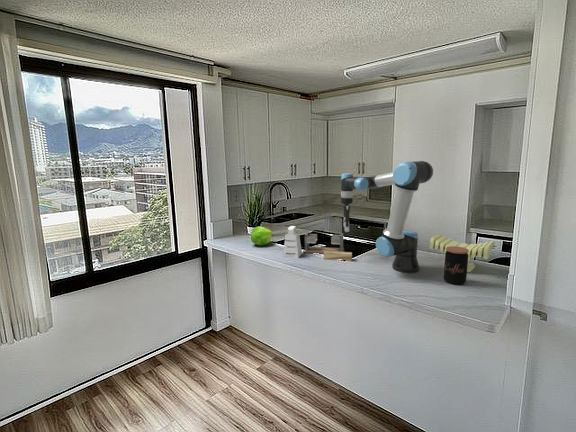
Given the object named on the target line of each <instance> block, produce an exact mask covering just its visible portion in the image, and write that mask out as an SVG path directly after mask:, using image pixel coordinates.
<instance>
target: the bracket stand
mask: <svg viewBox="0 0 576 432" xmlns="http://www.w3.org/2000/svg"><path fill="white" fill-rule="evenodd" d="M330 240H331V241H330V243H331V245H339V247H322V246H321V247H320V246H310V244H317V241H318V234H317V233H310V232H309V231H306V232H305V233H304V249H303V254H307V255H308V254H309V255H310V254H311V255H314V254H313V253H319V254H318V255H324V251H339V252H345V248H344V233H343V232H342V233H341V232H340V234H332V237H330Z"/></svg>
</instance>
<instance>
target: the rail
mask: <svg viewBox="0 0 576 432" xmlns="http://www.w3.org/2000/svg"><path fill="white" fill-rule="evenodd" d="M334 259H342V260H345V261H344V262H352V260H353V252H352V251H344V252H339V251H324V254H323V260H329V261H330V260H332V261H335V260H334Z"/></svg>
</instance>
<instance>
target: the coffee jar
mask: <svg viewBox="0 0 576 432" xmlns="http://www.w3.org/2000/svg"><path fill="white" fill-rule="evenodd" d="M468 252H469V250H468V249H466V248H463V247H458V246H449V247H446V253H445V256H444V267H443V279H444V282H446V283H447V284H450V285H453V286H463V285H465V283H467V277H468V276H467V275H468V274H467V273H468V272H467V266H468V254H467V253H468Z"/></svg>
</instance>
